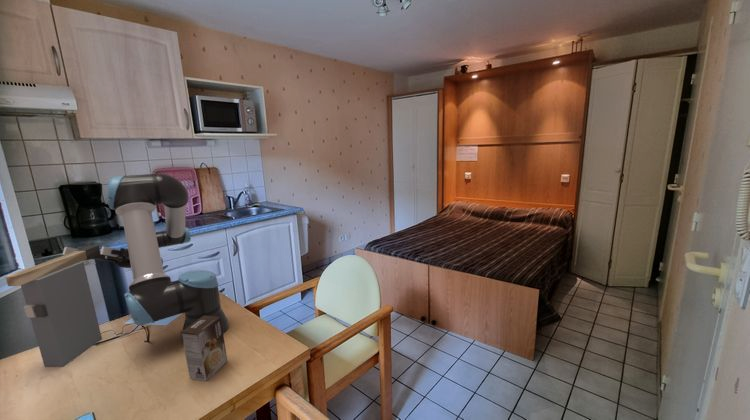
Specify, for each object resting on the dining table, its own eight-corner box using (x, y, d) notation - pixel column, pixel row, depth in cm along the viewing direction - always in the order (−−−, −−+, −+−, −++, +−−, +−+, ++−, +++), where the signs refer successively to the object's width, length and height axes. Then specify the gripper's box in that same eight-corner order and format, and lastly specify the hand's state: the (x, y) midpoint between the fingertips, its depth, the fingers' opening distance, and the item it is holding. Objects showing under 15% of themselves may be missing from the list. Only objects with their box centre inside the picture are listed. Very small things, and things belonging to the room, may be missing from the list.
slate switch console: (102, 339, 111) (83, 261, 104) (59, 369, 96) (35, 281, 90) (85, 339, 111) (66, 262, 104) (41, 369, 96) (15, 281, 90)
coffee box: (211, 358, 100) (204, 314, 97) (228, 360, 99) (221, 316, 95) (188, 378, 91) (180, 331, 88) (206, 382, 90) (198, 334, 86)
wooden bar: (100, 254, 112) (98, 245, 112) (19, 286, 87) (16, 275, 86) (91, 254, 112) (89, 245, 112) (7, 286, 87) (4, 275, 86)
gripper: (158, 267, 126) (115, 260, 106) (99, 268, 127) (45, 261, 107) (161, 250, 129) (120, 239, 109) (103, 250, 129) (52, 240, 109)
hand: (83, 250), depth 108 cm, fingers open, 13 cm apart
